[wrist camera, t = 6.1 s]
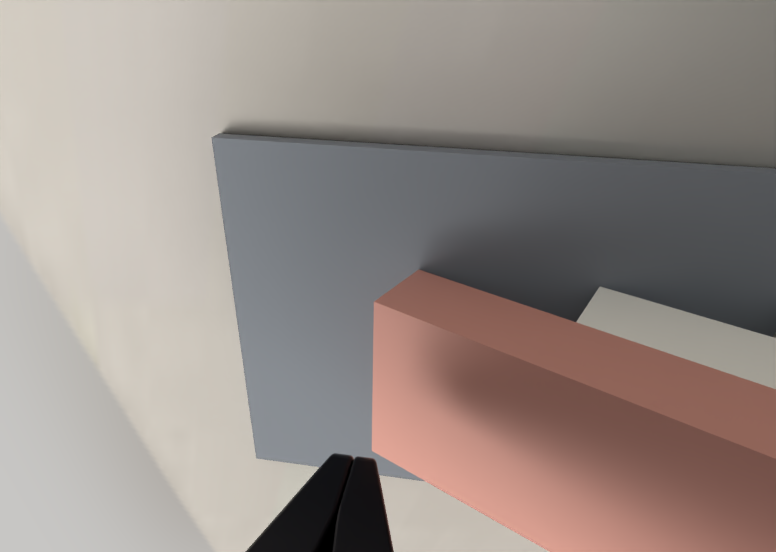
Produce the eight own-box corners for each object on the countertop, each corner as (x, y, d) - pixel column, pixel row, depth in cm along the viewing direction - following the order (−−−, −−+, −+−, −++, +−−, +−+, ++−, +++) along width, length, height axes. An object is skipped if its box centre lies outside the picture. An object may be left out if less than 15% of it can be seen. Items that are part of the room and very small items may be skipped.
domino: (410, 409, 14) (807, 606, 10) (371, 451, 13) (810, 699, 8) (419, 269, 12) (929, 440, 8) (374, 301, 11) (959, 530, 6)
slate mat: (1080, 558, 14) (1095, 572, 13) (260, 448, 16) (256, 458, 16) (1466, 211, 9) (1506, 220, 9) (219, 133, 12) (211, 137, 11)
